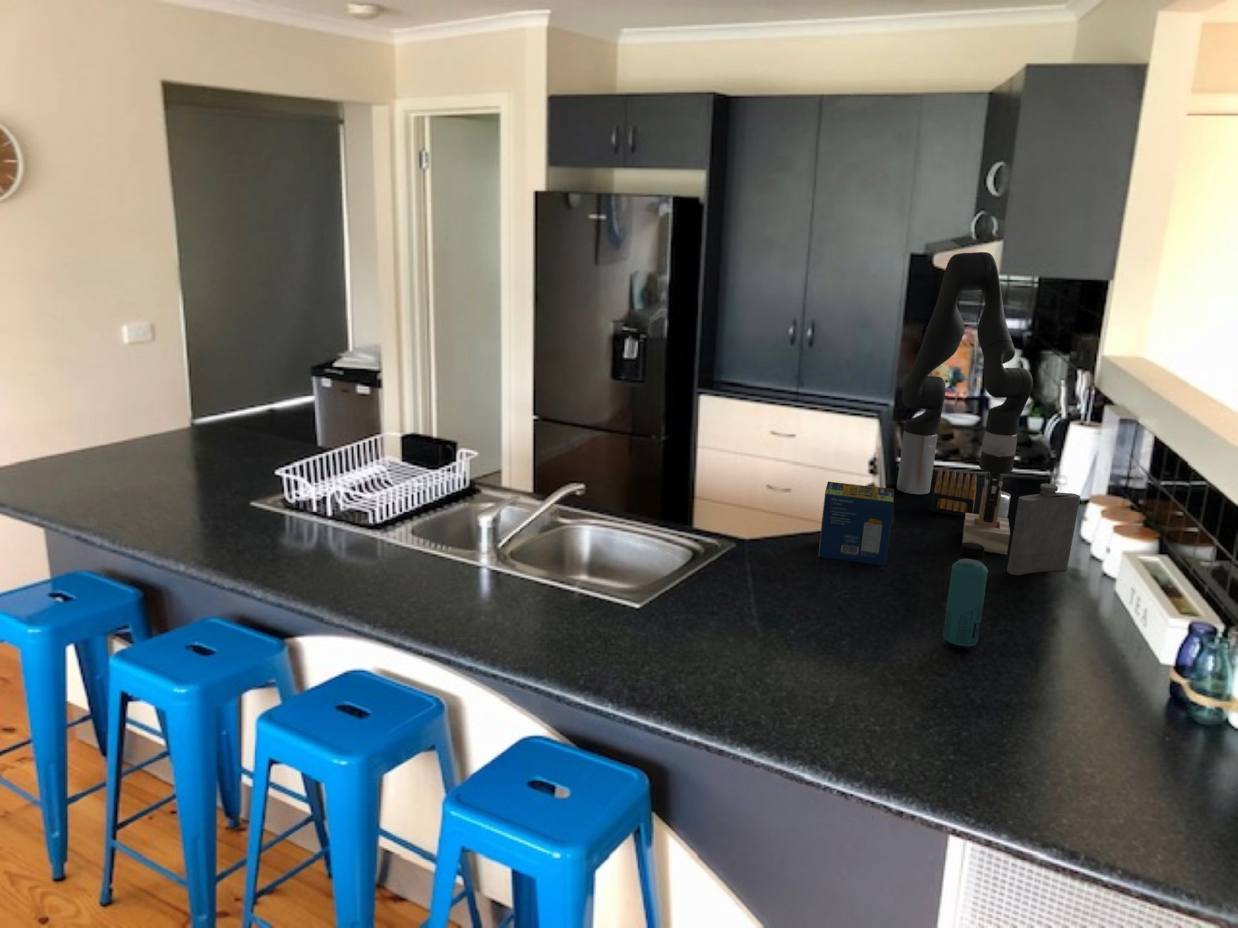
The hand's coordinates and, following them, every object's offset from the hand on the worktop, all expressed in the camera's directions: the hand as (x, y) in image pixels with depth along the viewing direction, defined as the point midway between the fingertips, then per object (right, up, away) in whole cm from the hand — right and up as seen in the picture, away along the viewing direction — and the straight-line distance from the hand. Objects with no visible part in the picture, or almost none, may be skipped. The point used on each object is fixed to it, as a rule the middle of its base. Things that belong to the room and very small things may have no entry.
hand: (987, 518), depth 232 cm
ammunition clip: (-1, 0, +23) cm, 23 cm away
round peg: (+6, -3, +14) cm, 15 cm away
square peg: (0, -3, +1) cm, 3 cm away
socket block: (0, -6, +2) cm, 6 cm away
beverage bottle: (-27, -21, -55) cm, 65 cm away
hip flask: (+5, -11, -15) cm, 19 cm away
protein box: (-35, -8, -10) cm, 38 cm away
